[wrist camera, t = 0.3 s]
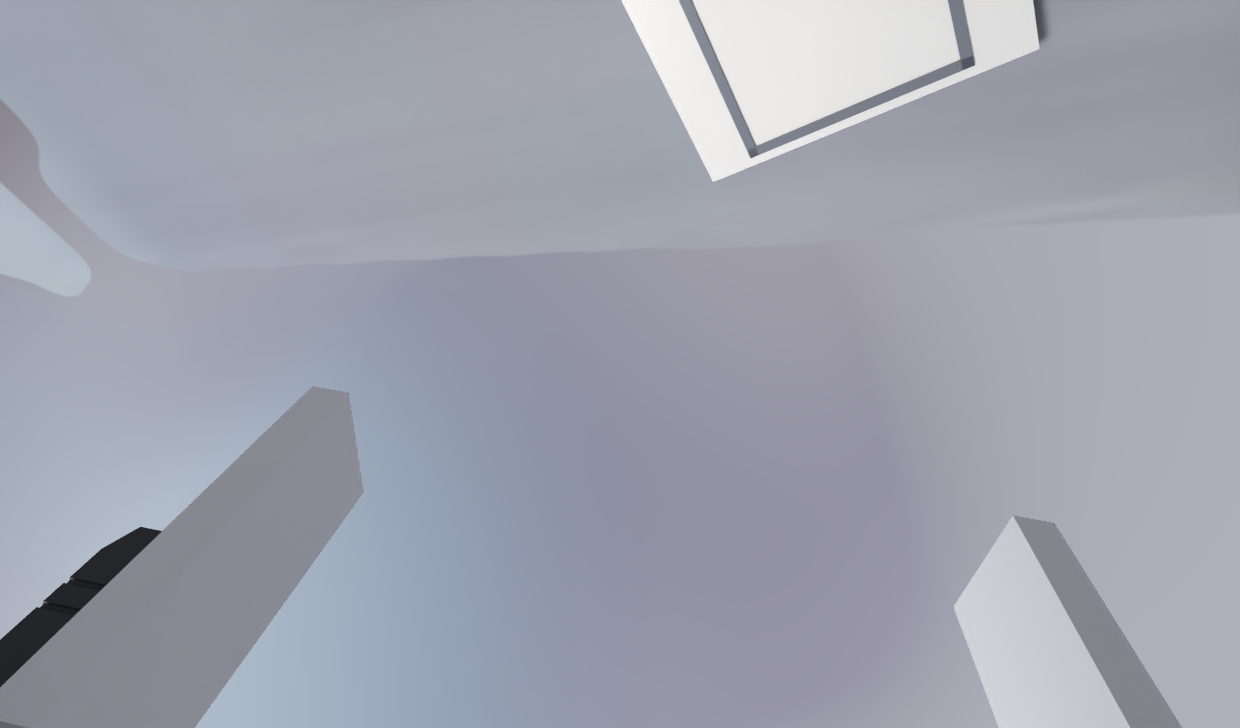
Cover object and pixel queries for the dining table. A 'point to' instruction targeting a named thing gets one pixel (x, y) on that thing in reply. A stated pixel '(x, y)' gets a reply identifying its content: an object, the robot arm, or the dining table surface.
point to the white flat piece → (814, 63)
